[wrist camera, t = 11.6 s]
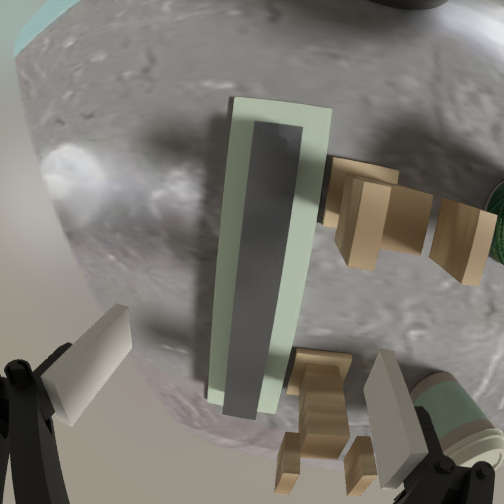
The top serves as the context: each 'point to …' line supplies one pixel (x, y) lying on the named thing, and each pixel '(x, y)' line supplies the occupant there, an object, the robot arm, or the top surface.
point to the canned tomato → (497, 222)
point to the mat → (297, 243)
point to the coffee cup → (459, 421)
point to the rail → (260, 261)
